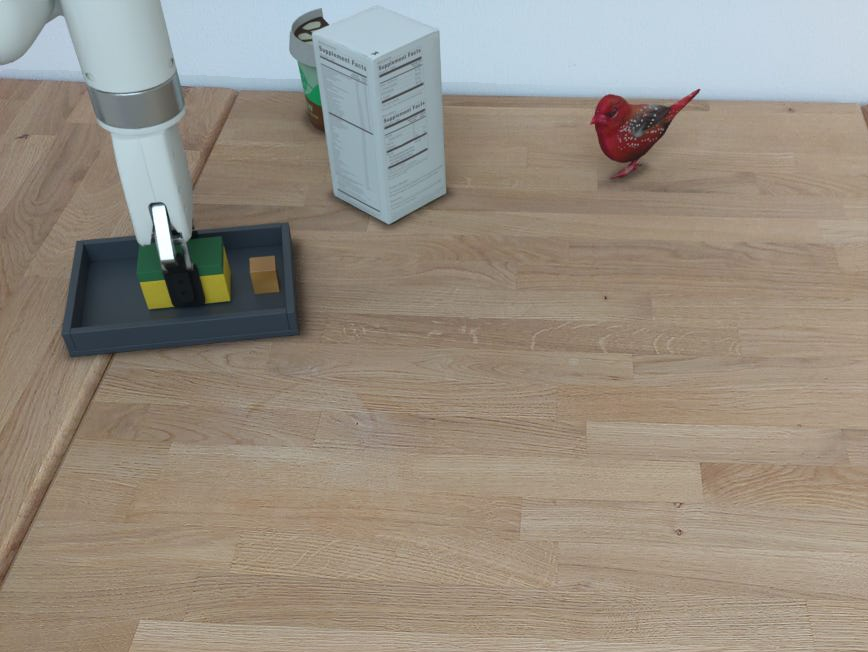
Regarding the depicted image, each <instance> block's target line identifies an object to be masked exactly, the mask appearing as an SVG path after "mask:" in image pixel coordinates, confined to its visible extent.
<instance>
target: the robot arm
mask: <svg viewBox="0 0 868 652" xmlns="http://www.w3.org/2000/svg"><path fill="white" fill-rule="evenodd" d="M59 16H61V17H63V18H64V20H65V24H66V27H67V30H68V33H69V36H70V41H71V42H72V46H73V48H74V52H75V54H76V59H77V62H78V64H79V67H80V70H81V74H82V76H83V80H84V83H85V86H86V89H87V93H88V96H89V99H90V102H91V106H92V109H93V111H94V115H95V118H96V121H97V124H98V125H99V126H100V127H101V128H102V129H104V130H105V131H107V132H109V133H110V138H111V143H112V148H113V149H112V150H113V153H114V158H115V163H116V167H117V171H118V175H119V179H120V183H121V187H122V191H123V194H124V198H125V201H126V205H127V209H128V213H129V217H130V221H131V225H132V228H133V231H134V235H136V239H137V242H138V243H139V244H140V245H141V246H146V245H150V244H151V237H152V234H154V238H155V243H156V246H157V251H158V255H159V259H160V263H161V267H162V273H163V276H164V279H165V283H166V286H167V289H168V293H169V296H170V299H171V303H172V305H173V306H175V307H182V306H192V305H202V304H204V303H205V295H204V291H203V287H202V284H201V280H200V276H199V272H198V269H197V265H196V264H195V265H193V262H192V258H191V253H190V249H189V244H188V240H189V239H198V238H199V235H198V231H192V230H196V225H195V219H194V189H193V183H192V177H191V172H190V167H189V164H188V163H189V162H188V158H187V154H186V150H185V146H184V142H183V138H182V134H181V132H180V128H179V124H178V123H179V122H180V121H182V119H183V118H184V117H185V116H186V113H187V106H186V100H185V97H184V93H183V89H182V84H181V81H180V77H179V73H178V68H177V65H176V61H175V57H174V52H173V47H172V44H171V40H170V35H169V31H168V27H167V23H166V18H165V15H164V10H163V7H162V2H161V0H0V66H5V65H8V64H12V63H15V62H16V61H18V60H20V59H21V58H22V57H23V56H24V55H25V54H26V53H27V52H28V51H29V49H31V48H32V46H33V44H34V43H35V41H36V40H37V38H38V37H39V35H40V34H41V32H42V31H43V29H44V28H45V26H46V25H47V24H48V23H50V22H52V21H53V20H55V19H56V18H58V17H59ZM176 244H181V247H182V252H183V255H182V254H181V253H180V252H179V253H177V252H176V251H175V247H174V245H176Z"/></svg>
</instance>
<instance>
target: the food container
mask: <svg viewBox="0 0 868 652" xmlns="http://www.w3.org/2000/svg"><path fill="white" fill-rule="evenodd" d="M323 13H324V12H323V7H320V8H319V7H318V8H315V9H312V10H309V11H308V12H305V13H303V14H301V15H300V16H298V17H297V18H296V19H295V20H294V21H293V22H292V25H291V29H290V31H289V41H288V42H289V43H288V51H289V53H290V55H291V57H292V58H293V59H295V60H296V62H297V67H298V71H299V76H300V80H301V84H302V90H303V93H304V98H305V104H306V107H307V113H308V117H309V121H310V124H311V125H312V126H313V127H314V128H315V129H317V130H318V131H320V132H324V133H325V126H324V118H323V111H322V104H321V97H320V90H319V83H318V76H317V68H316V61H315V54H314V47H313V40H312V33H313V32H315V31H317V30H319V29H321V28H324V27H326V26H328V25H330V23H328V21H326V19H325V18H324V14H323Z"/></svg>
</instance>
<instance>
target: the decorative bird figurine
mask: <svg viewBox="0 0 868 652" xmlns="http://www.w3.org/2000/svg"><path fill="white" fill-rule="evenodd" d="M700 91H701V88H697V89H696V90H694V91H692V92H691V93H689V94H687V95H686V96H684V97H683V98H681V99H679V100H677V101H676V102H675V103H673V104H672V105H669V106H666V105H663V104H656V103H641V104H631V103H629V102H628V101H627V100H626V99H625V98H624V97H622V96H620V95H618V94H612V93H609V94H605V95H604V96H603V97H601V98H600V100H599V101H598V103H597V104H596V107H595V110H594V115H593V117H592V118H591V121H590V122H589V126H591V125H594V130H595V132H596V136H597V141H598V145H599V147H600V150H601V151H602V153H603V154H604V156H606V158H608V159H609V160H611V161H612V162H613V161H614V162H617V163H620V164H627V163H628V165H627V166H626V167H625V168H624V169H621V170H619V172H618V173H617V174H615V175H613V176H611V177H609V180H613V179H615V178H623V177H626V176H627V175H628V174H630V173H631V172H633V171H635V170H638V167H639V166H643V164H642V162H638V161H639V160H640V159H641V158H642V157H643V156H645V155H647V153H648V152H649V151H650V150H651V149H652V148H653V147H654V146H655V144H657V142H659V141H660V140H661V139H662V138H663V136H664V135H665V134H666V132H667V131H668V128H669V127H670V125H671V124H672V122H673V120H674V119H675V117H676V116H677V115H678V114H679V113H680V111H682V110H683V109H684V108H685V107H686V106H687V105H689V103H690V102H691V101H693V99H694V98H695V97H697V95H699V94H700Z"/></svg>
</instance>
